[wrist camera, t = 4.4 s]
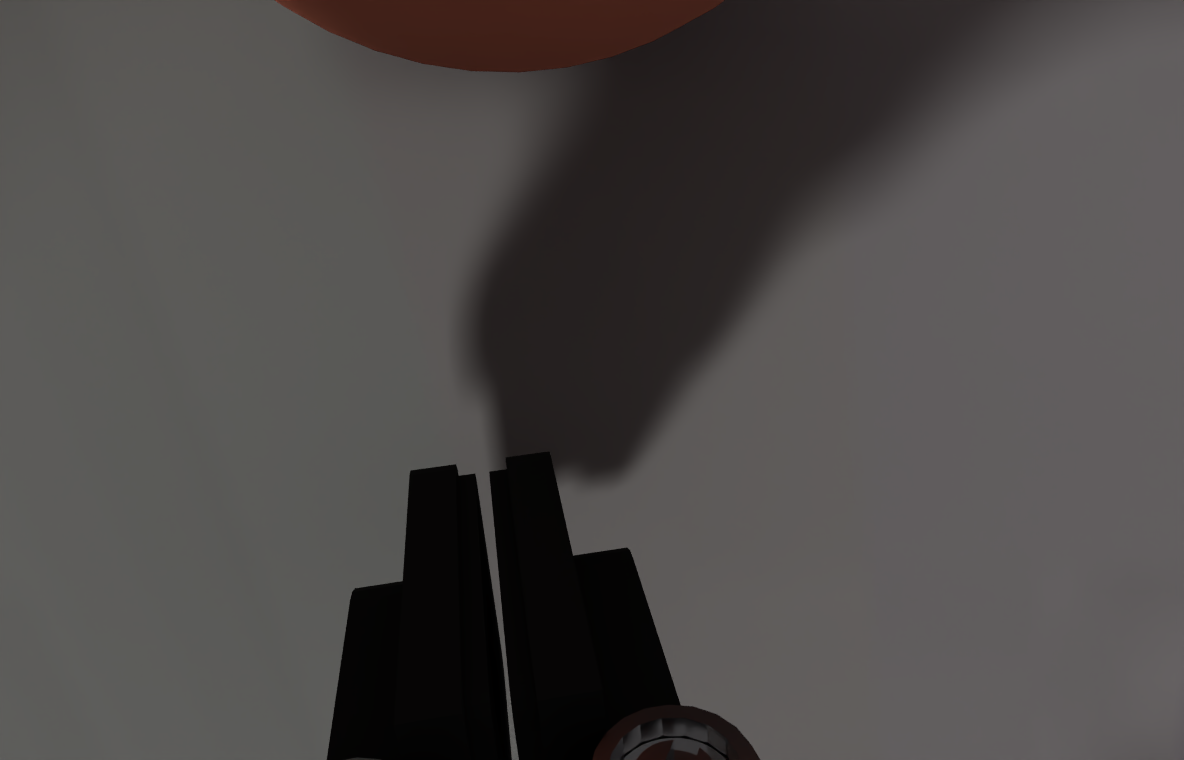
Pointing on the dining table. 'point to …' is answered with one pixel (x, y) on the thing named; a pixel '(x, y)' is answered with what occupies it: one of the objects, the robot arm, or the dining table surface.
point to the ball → (501, 28)
